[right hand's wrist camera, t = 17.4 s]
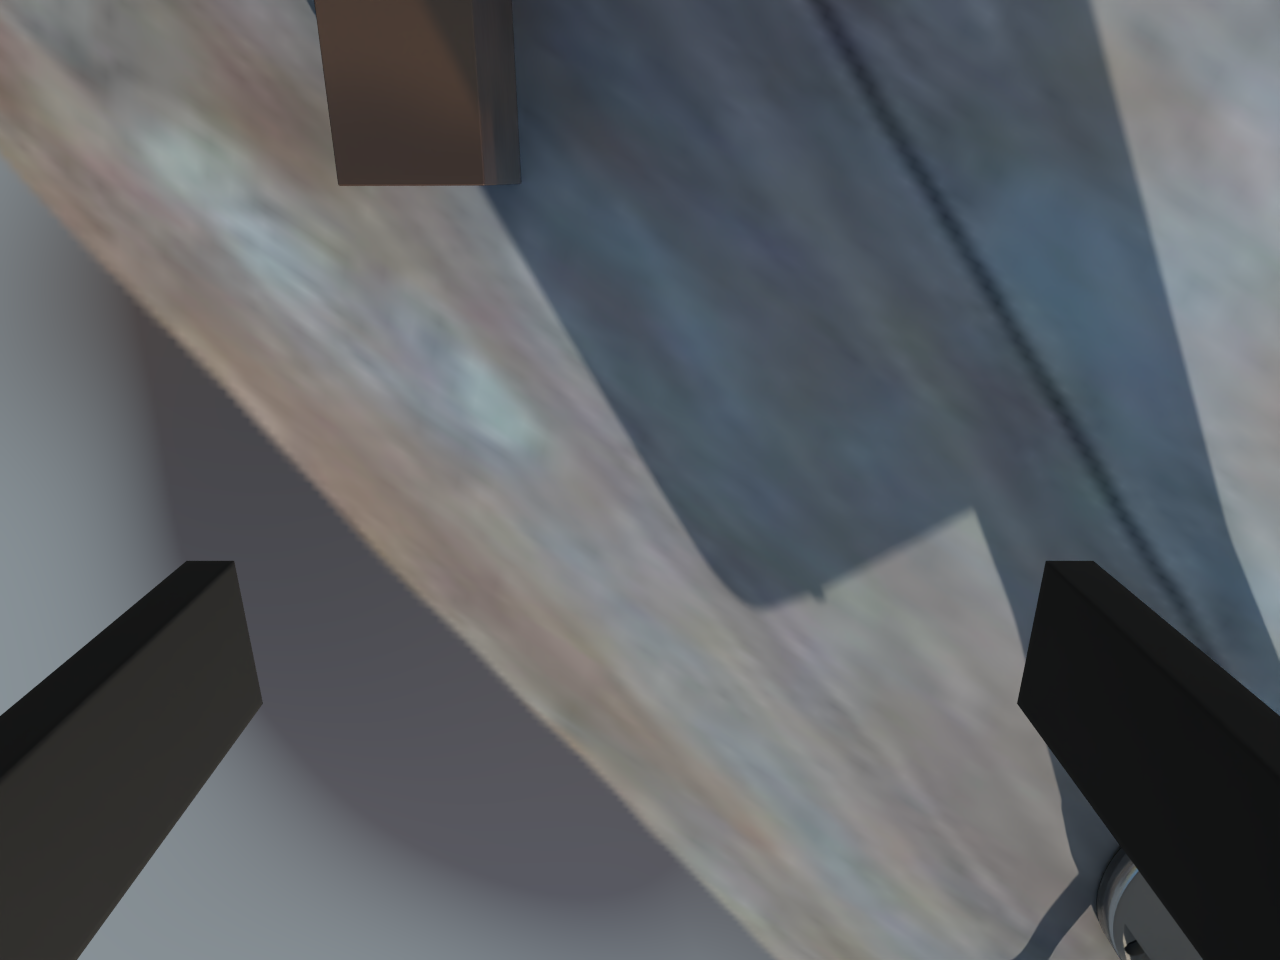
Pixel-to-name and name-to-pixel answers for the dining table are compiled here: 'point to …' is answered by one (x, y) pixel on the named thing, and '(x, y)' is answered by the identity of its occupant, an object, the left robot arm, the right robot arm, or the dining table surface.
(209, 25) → the dining table surface
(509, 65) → the walnut beam
